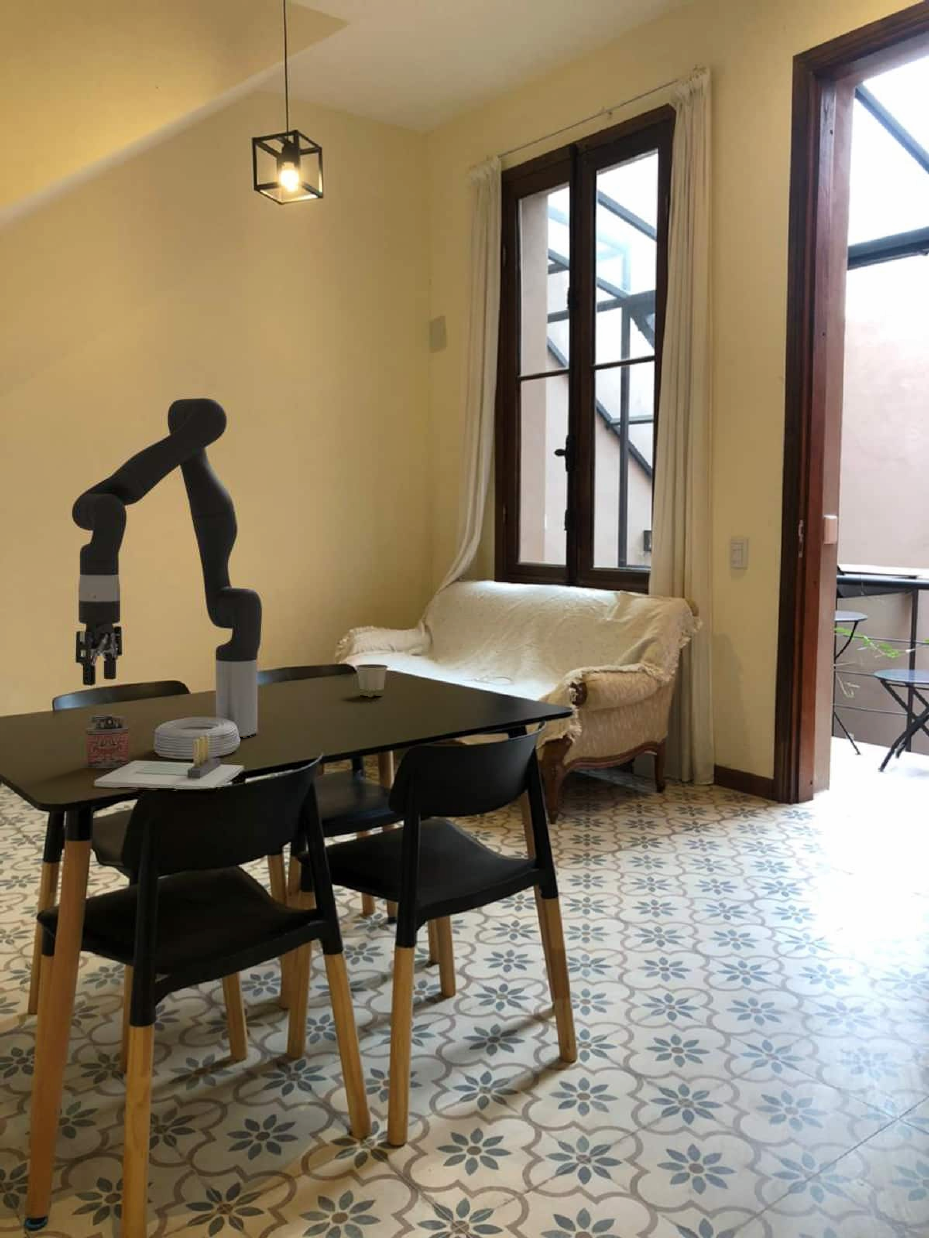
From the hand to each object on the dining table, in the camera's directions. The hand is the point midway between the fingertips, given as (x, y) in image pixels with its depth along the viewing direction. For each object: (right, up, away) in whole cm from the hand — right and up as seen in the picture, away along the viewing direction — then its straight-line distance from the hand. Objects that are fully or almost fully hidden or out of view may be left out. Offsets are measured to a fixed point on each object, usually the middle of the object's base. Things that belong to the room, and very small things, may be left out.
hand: (99, 682), depth 188 cm
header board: (+16, -17, -7) cm, 25 cm away
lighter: (+1, -17, +2) cm, 17 cm away
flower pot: (+44, -10, +89) cm, 99 cm away
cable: (+15, -16, +16) cm, 27 cm away
